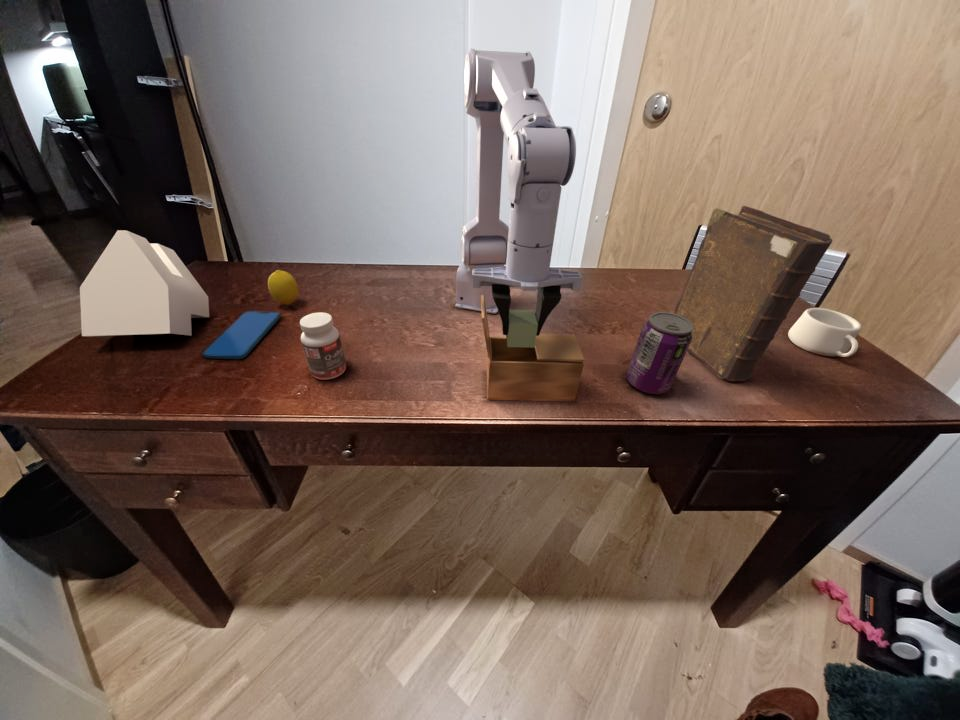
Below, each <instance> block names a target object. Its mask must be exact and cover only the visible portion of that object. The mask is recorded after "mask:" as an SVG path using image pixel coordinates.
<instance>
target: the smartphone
mask: <svg viewBox="0 0 960 720" xmlns="http://www.w3.org/2000/svg"><path fill="white" fill-rule="evenodd" d="M281 316H282V315H281V314H280V312H278V311H259V310H257V311H256V310H248V311H245V312H243V313H242V314H241V315H240V316H239V317H238V318H237V319H235V321H234V322H233V323H232V324H231V325H230V326H228V328H226V329H225V330H224V331H223V332H222V333H221V334H220V335H219V336H218V337H217V338H216V339H215V340H214V341H213V342H212V343H211V344H209V346H208V347H206V349H205V350H203V352H202V356H203V357H204V358H205V359H219V360H220V359H221V360H223V359H224V360H241V359H242V360H243V359H244V358H246V357H247V356H248V355H249V354H250V353H251V351H253V349H254V348H255V347H256V346H257V344H258V343H260V341H261V340H262V339H263V338H264V337H265V335H267V333H269V331H270V329H272V327H273V326H274V325H275V324H276V323H277V322H278V321H279V320H280V318H281Z"/></svg>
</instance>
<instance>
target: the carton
mask: <svg viewBox="0 0 960 720" xmlns="http://www.w3.org/2000/svg"><path fill="white" fill-rule="evenodd" d="M490 348H491V358H488V353H487V356H486V396H487V401H523V402H524V401H527V402H530V401H532V402H533V401H534V402H575V401H576V398H577V393H578V390H579V385H580V381H581V378H582V374H583V370H584V366H585V364H584V363H585V357H584V354H583V352H582V350H581V347H580V344H579V342H578V340H577V337H576V336H575V334H567V333H566V334H562V333H561V334H560V333H540V334H539V336H536V341H535V348H526V347H507V340H506V336H490Z"/></svg>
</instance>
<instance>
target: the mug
mask: <svg viewBox="0 0 960 720" xmlns="http://www.w3.org/2000/svg"><path fill="white" fill-rule="evenodd" d="M861 330H862V324H861V323H860V322H859V321H858V320H857V319H855V318H854V317H852V316H850V315H848V314H845V313H842V312H841V311H837V310H833V309H828V308H823V307H810V308H807V309H805V310H804V311H803V312H802V314H801V315H800V317H798V319H797V320H796V321H795V323H793V325H792V326H791V327H790V328H789V330H788V333H787V335H788V339H789V340H790V342H792V343H793V344H794V345H796V346H797V347H799V348H801V349H802V350H805V351H807V352H809V353H812V354H816V355H819V356H825V357H831V358H832V357H835V358H836V357H841V358H849V357H851V356H853V355H855V354H857V351H858V349H859V342H858V340H857V339H856V338H857V337H858V335H859V333H860V331H861Z"/></svg>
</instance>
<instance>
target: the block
mask: <svg viewBox="0 0 960 720" xmlns="http://www.w3.org/2000/svg"><path fill="white" fill-rule="evenodd" d="M535 311H536V310H534V309H533V310H531V309H528V310H527V309H510V310H509V327H508V335H505V337H506V340H507V347H526V348H535V341H536V334H537V327H538V323H537V319H536V315H535Z"/></svg>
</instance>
